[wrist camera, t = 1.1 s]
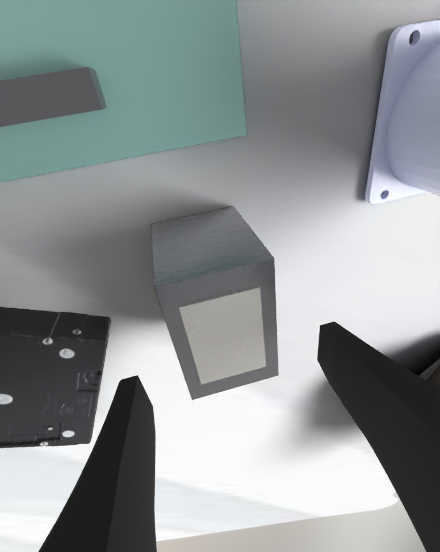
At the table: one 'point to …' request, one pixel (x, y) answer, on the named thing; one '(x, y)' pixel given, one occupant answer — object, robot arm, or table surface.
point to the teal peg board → (114, 80)
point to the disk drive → (49, 376)
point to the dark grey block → (216, 299)
